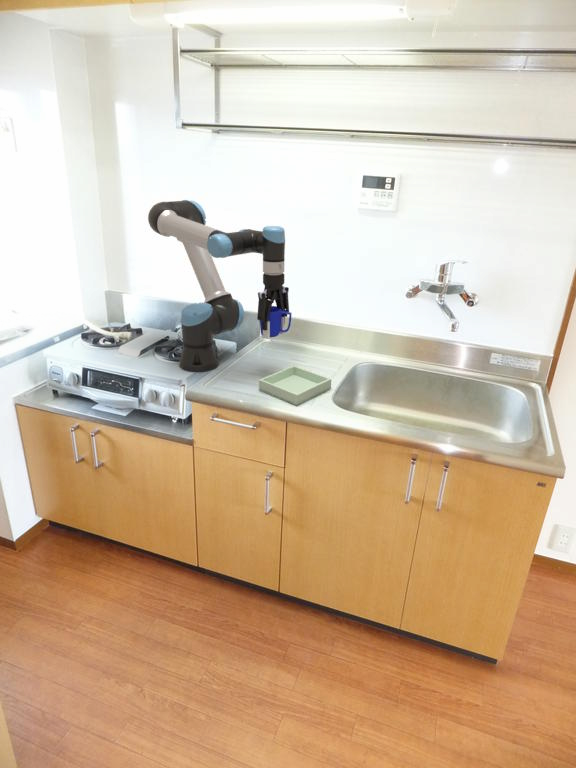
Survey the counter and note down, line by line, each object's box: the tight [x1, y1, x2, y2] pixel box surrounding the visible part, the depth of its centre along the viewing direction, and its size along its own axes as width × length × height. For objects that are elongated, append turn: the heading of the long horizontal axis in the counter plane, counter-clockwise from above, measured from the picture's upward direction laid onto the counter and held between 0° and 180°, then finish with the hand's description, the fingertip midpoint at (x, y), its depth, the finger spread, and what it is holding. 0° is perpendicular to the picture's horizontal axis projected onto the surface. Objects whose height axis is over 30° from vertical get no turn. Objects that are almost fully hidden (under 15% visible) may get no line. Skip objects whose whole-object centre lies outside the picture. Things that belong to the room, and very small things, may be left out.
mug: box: [259, 305, 293, 338], centre depth 183 cm, size 8×12×10 cm
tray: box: [258, 365, 332, 407], centre depth 178 cm, size 18×19×4 cm
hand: (273, 335), depth 185 cm, fingers closed on mug, 7 cm apart
